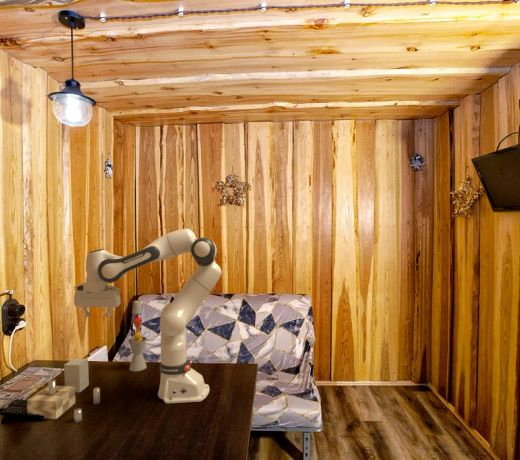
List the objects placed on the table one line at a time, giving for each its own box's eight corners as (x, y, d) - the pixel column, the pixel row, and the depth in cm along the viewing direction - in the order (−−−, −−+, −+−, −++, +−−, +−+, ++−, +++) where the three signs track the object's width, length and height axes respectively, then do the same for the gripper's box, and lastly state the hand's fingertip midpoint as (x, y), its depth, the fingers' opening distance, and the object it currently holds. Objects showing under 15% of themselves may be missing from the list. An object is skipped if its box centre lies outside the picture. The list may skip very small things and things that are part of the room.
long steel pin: (57, 408, 144) (57, 379, 144) (53, 412, 142) (52, 382, 141) (51, 408, 145) (51, 379, 144) (47, 411, 142) (46, 382, 142)
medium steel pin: (101, 401, 150) (101, 387, 150) (98, 404, 147) (97, 390, 147) (95, 400, 150) (95, 387, 150) (92, 404, 148) (91, 390, 147)
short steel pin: (83, 418, 137) (83, 408, 137) (79, 422, 134) (79, 412, 134) (77, 418, 137) (76, 408, 137) (72, 422, 135) (72, 411, 134)
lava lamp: (128, 365, 186) (127, 300, 185) (146, 363, 189) (145, 298, 188) (128, 372, 177) (127, 303, 176) (147, 369, 181) (146, 302, 180)
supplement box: (89, 385, 164) (88, 358, 164) (79, 392, 157) (79, 365, 157) (74, 384, 165) (73, 357, 165) (64, 392, 158) (63, 364, 157)
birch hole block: (75, 402, 149) (74, 386, 148) (56, 419, 137) (55, 401, 136) (48, 401, 150) (48, 385, 149) (27, 417, 138) (27, 400, 138)
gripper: (122, 284, 158) (123, 315, 159) (80, 284, 160) (80, 314, 161) (115, 287, 152) (116, 319, 153) (71, 286, 154) (72, 318, 155)
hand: (97, 316), depth 157 cm, fingers open, 8 cm apart
